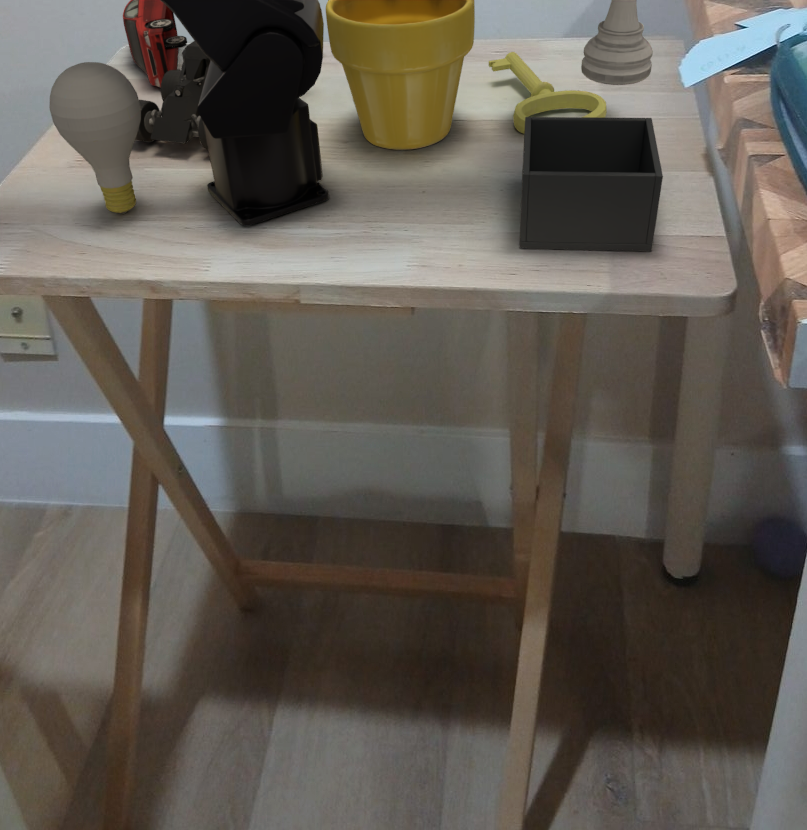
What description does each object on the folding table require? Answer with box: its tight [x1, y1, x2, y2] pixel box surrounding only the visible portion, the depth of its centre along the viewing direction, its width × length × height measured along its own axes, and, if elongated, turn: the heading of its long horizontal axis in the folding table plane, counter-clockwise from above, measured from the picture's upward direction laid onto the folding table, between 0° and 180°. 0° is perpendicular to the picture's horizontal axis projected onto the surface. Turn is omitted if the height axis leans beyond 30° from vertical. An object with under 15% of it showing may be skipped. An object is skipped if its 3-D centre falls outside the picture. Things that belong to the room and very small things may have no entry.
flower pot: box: [325, 0, 476, 151], centre depth 68 cm, size 10×10×10 cm
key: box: [488, 51, 608, 135], centre depth 72 cm, size 7×12×2 cm, turn 36°
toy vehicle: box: [135, 40, 211, 151], centre depth 72 cm, size 8×15×9 cm, turn 159°
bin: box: [518, 116, 664, 252], centre depth 58 cm, size 8×8×5 cm
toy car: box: [122, 0, 188, 89], centre depth 83 cm, size 6×15×5 cm
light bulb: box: [49, 61, 141, 215], centre depth 60 cm, size 6×6×10 cm
